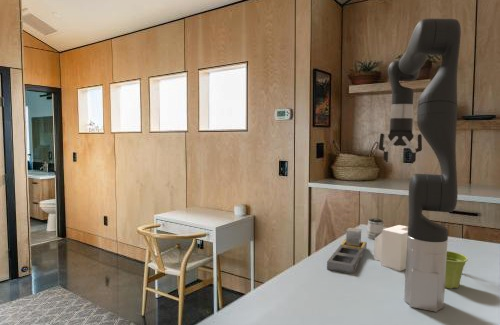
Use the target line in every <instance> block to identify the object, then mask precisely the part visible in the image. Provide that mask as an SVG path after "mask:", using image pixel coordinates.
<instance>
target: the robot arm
mask: <svg viewBox="0 0 500 325" xmlns="http://www.w3.org/2000/svg"><path fill="white" fill-rule="evenodd" d="M461 31H462V30H461V23H460V22H459V20H458V19H456V18H431V17H430V18H423V19H420V21H418V23H417V24H416V26H415V27H414V29H413V32H412V34H411V36H410V39H409V42H408V45H407V47H406V51H405V52H404V53H403V55H402V56H401V58H400V59H399V60H393V61H391V62H390V64H389V65H388V66H387V76H388V78H389V84H390V86H391V107H390V116H389V121H390V123H389V133H388V134H387V133H380V134H379V144H378V149H379V151H382V152H383V161H384V162H385V163H388V162H389V150H390V149H391V148H392V147H393V146H395V147H396V146H401V147H406V146H407V147H408V148H409V149H410V150H411V151H410V152H411V154H410V155H411V157H410V158H411V159H410V164H414V163H415V162H416V159H417V158H416V157H417V153H418V152H422V150H423V147H422V145H423V142H422V141H423V140H422V139H423V137H424V139H425V141H426V142H427V143H428V145H429V146H430V148H431V150H432V151H433V152H434V154H435V156H436V158H437V161H438V163H439V166H440V171H441V174H430V173H414V174H412V175H411V177H410V179H409V182H408V223H407V227H408V235H407V253H406V269H405V275H404V298H403V299H404V302H406V303H407V304H408V305H409V307H411V308H415V309H421V310H425V311H431V312H435V313H437V312H438V311H439V310H442V309H443V308H444V307H445V306H444V305H445V289H446V287H445V274H446V258H447V251H448V241H449V240H448V239H449V238H448V237H449V231H448V228H447V227H446V226H444V225H442V224H440V223H437V222H436V221H433V220H431V219H429V218H427V216H425V214H423V211H425V212H437V213H438V212H439V213H453V211H455V209H456V207H457V204H458V173H457V171H458V169H457V157H456V156H457V155H456V154H457V153H456V148H457V145H456V144H457V126H458V125H457V124H458V122H457V121H458V67H459V66H458V64H459V58H460V57H459V56H460V55H459V54H460V46H461V37H462V36H461V35H462V34H461ZM428 55H429V56H430V55H431V56H433V55H436V56H440V55H441V64H440V66H439V69H438V70H437V72H436V74H435V75H434V77H433V78H432V79H431V81H430V82H429V83H428V84H427V86H426V87H424V89H423V91H422V92H421V94H420V96H419V97H418V100H417V107H416V108H417V110H416V111H417V112H416V113H417V114H416V123H417V124H416V125H417V128H418V130H419V132H420V133H418V134H413V122H414V90H413V88H411V87H407V86H404V85H402V84H401V83H400V82H413V81H416V80H418V78H419V76H420V72H421V69H422V67H424V65H425V64H426V62H427V59H428ZM387 138H388V139H389V141H390V142H389V143H388V144H387V145H386V146H385V147H384V143H385V140H387ZM412 139H415V140H416V141H417V148H415V147H414V146H413V143H412V142H411V141H412Z"/></svg>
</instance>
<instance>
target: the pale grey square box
mask: <svg viewBox="0 0 500 325" xmlns="http://www.w3.org/2000/svg"><path fill="white" fill-rule="evenodd" d="M345 235H346V236H345V238H346V245H348V246H355V247H360V248H361V242H362V228H354V227H348V228H346V233H345Z"/></svg>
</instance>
